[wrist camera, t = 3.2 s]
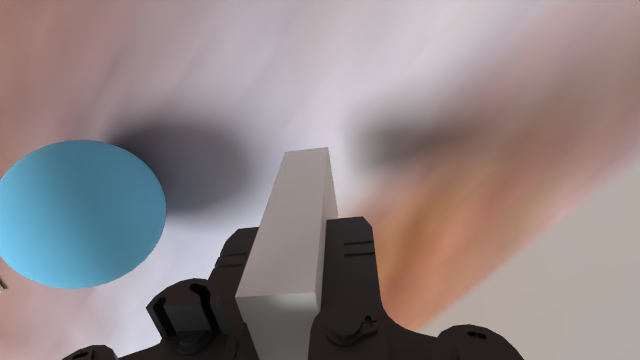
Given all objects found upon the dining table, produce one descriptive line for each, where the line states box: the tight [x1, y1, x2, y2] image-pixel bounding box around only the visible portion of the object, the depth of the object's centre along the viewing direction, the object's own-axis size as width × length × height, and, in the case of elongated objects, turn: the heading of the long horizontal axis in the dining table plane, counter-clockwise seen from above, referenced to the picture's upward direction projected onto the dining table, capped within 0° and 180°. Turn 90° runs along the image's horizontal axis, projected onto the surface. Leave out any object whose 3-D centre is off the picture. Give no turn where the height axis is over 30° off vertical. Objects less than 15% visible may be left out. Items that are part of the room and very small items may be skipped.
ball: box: [0, 140, 166, 289], centre depth 13 cm, size 6×6×6 cm
